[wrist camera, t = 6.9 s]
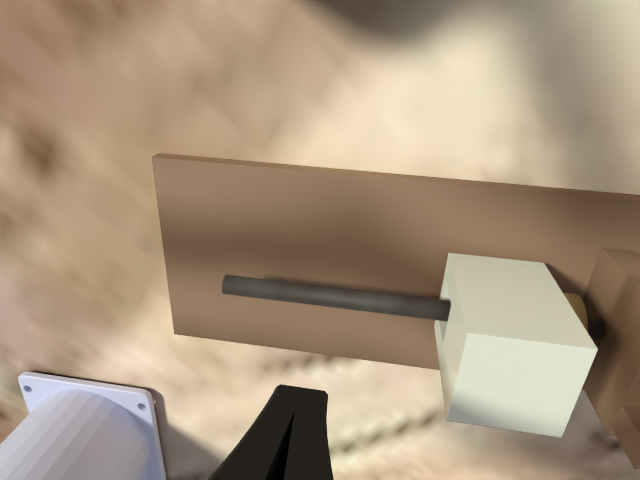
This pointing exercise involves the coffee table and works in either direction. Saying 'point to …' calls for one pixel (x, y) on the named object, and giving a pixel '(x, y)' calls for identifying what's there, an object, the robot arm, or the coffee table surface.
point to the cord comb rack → (390, 262)
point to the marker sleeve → (510, 346)
